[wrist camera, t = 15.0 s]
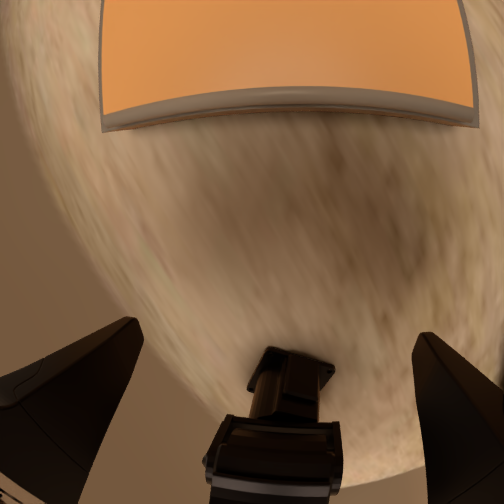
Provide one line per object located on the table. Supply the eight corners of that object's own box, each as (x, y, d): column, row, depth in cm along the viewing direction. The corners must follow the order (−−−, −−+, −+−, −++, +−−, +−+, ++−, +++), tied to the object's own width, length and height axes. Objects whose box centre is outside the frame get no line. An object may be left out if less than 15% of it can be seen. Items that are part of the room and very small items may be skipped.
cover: (465, 122, 10) (474, 123, 9) (114, 127, 14) (103, 129, 13) (436, -38, 6) (442, -44, 5) (115, -19, 9) (106, -24, 8)
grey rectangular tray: (451, 125, 14) (489, 129, 9) (132, 129, 17) (90, 134, 13) (431, -17, 9) (456, -42, 5) (130, -3, 13) (93, -20, 9)
